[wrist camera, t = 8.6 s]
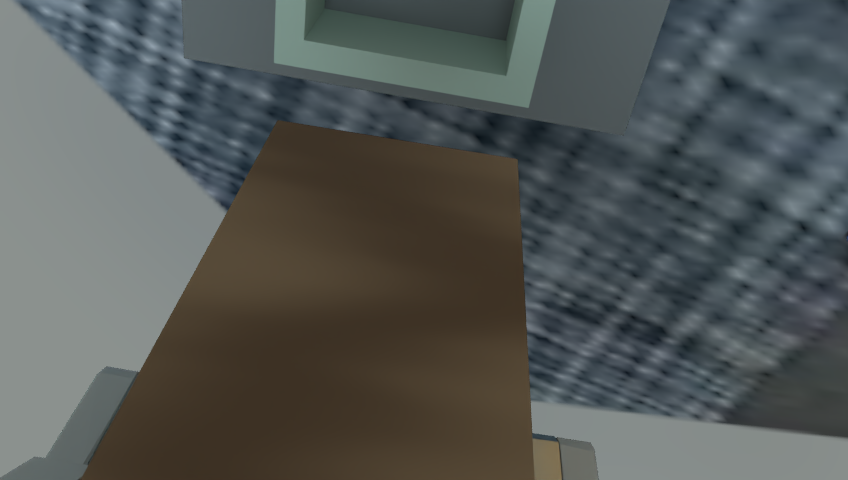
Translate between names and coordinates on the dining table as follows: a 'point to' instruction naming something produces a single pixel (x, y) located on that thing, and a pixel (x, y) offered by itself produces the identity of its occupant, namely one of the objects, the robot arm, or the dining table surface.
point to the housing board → (447, 50)
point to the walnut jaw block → (343, 326)
